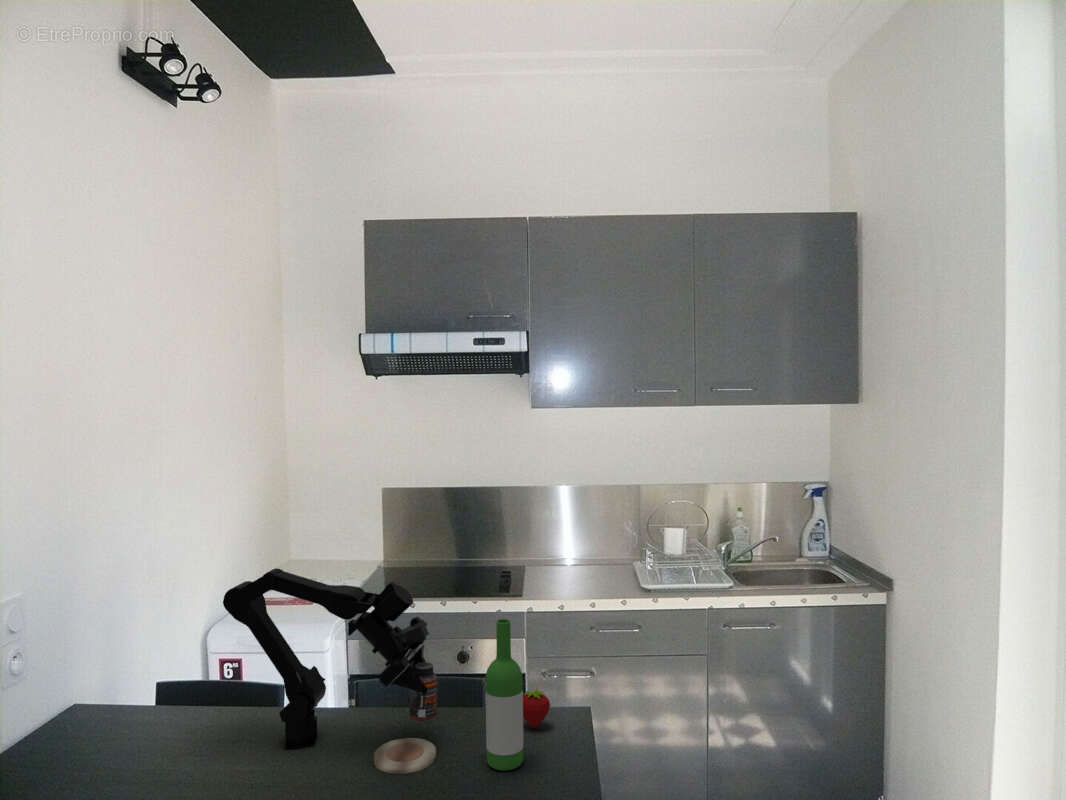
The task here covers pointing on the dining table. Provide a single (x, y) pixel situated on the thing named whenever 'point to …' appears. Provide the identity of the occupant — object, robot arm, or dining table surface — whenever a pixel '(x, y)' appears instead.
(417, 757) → the serving plate
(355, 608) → the robot arm
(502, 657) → the wine bottle
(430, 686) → the supplement bottle
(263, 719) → the dining table surface
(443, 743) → the dining table surface
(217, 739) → the dining table surface
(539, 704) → the strawberry
